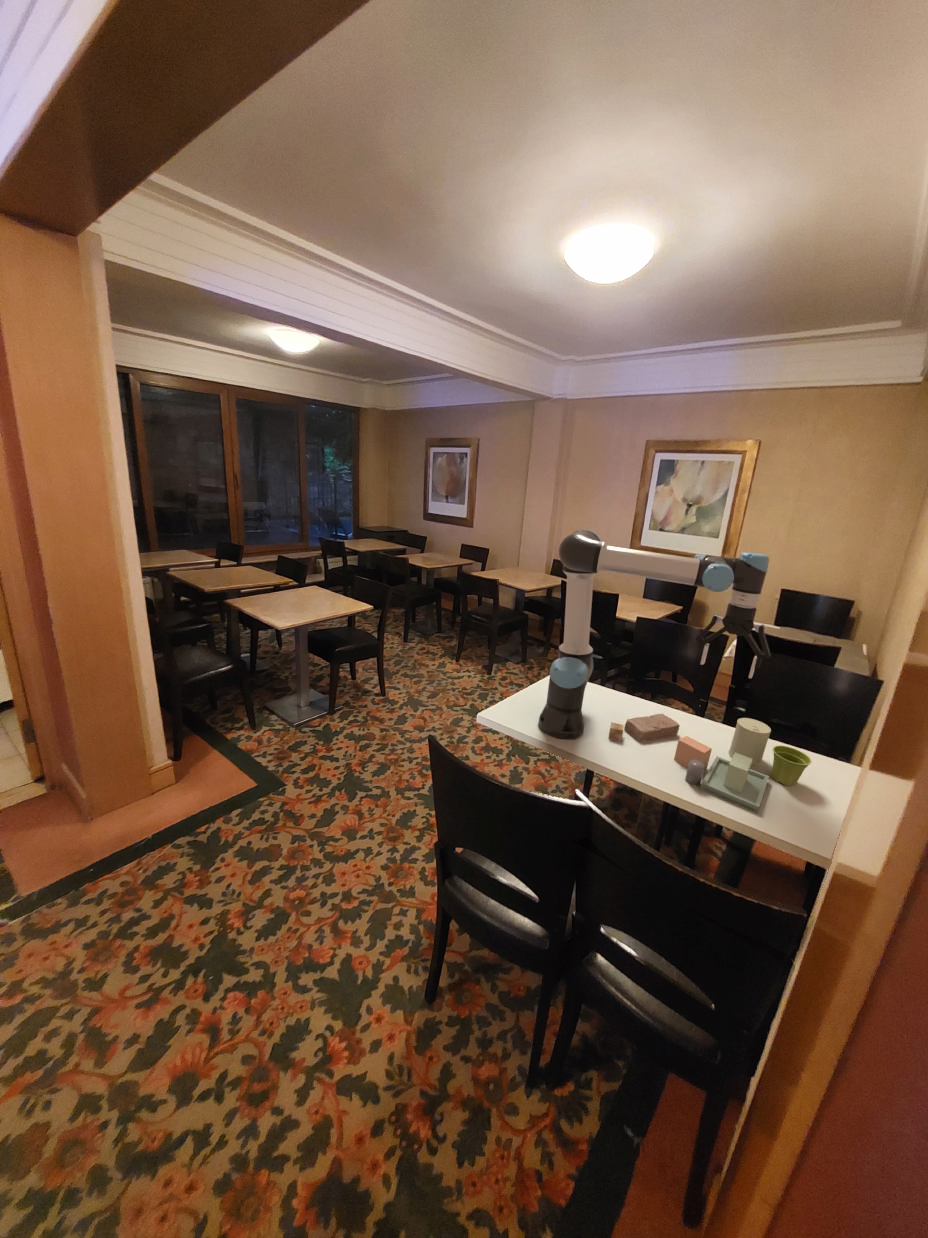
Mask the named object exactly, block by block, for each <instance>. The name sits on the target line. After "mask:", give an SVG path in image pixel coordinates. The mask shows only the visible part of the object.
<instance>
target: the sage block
mask: <svg viewBox="0 0 928 1238" xmlns="http://www.w3.org/2000/svg"><path fill="white" fill-rule="evenodd" d="M730 761H731V762H730V764H729V767H728V770H727V774H726V777H725V781H724V785H723V786H726V787H728V788H731V789H733V790H735V791H738V792H740V793H741V792H742V790H743V787H744V785H745V782H746V780H747V776H748V773H749V769H751V767H752V766H751V763H752V759H751V758H749V757H746V756H743V755H741V754H738V753H734V755H733V757H731V760H730Z"/></svg>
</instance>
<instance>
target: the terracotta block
mask: <svg viewBox="0 0 928 1238" xmlns="http://www.w3.org/2000/svg"><path fill="white" fill-rule="evenodd" d="M712 750H713V748H712V747H710V746H707V745H706V744H703V743H702V742H700V741H698V740H696V739H695V738H694V739H693V738H691V737H690V736H688V735H685V736H684V737H682V738H680V739H678V741H677V745H676V749H675V753H674V758H673V760H675V761H676V762H678V763H680V764H681V765H683V766H685V767H686V768H688V765H689V761H690V760H698V761H700V762H702V763H703V764H704V765H705V768H704V771H705V770H707V768H708V765H709V762H710V757H711V754H712Z"/></svg>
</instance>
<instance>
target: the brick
mask: <svg viewBox="0 0 928 1238" xmlns="http://www.w3.org/2000/svg"><path fill="white" fill-rule="evenodd" d="M679 730H680V724H679V722H677V721H676V720H674V719H673V718H671V717H669V716H667V715H665V714H664V713H657V714H656V713H655V714H652V715H649V716H647V715H646V716H641V717H640V716H638V717H632V718H628V719H626V721H625V724H624V728H623V731H625V732H626V733H627V734H629V735H630V736H631V737H632V738H633V739H634V740H635V741H636V742H637V741H638V742H646V741H648V740H649V741H651V740H652V741H653V740H656V739H657V740H659V739H662V738H664V739H665V738H669V737H673V736H676V735H677V734H678V733H679Z"/></svg>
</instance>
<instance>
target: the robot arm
mask: <svg viewBox="0 0 928 1238" xmlns="http://www.w3.org/2000/svg"><path fill="white" fill-rule="evenodd" d="M558 557H559V559H560V562H561V563H562V565H563V566H562V572H563V573H564V574H565V575H566V593H565V594H566V595H565V608H564V609H565V610H564V611H565V613H564V628H563V629H564V632H563V643H561V644H560V645H559V646H558V658H556V659H555V660H554V661H553V662H552V664H551V666H550V669H549V681H548V688H547V694H546V695H547V697H546V703H545V705H544V707H543V709H542V711H541V712H540V715H539V717H538V727H539V729H540V730H541V731H542V732H543V733H545V734H546V733H547V734H546V735H548V734H549V735H548V736H550V737H553V736H554V738H557V739H564V740H572V739H573V740H574V739H576V738H579V737H581V736H582V735H583V734H584V731H585V722H584V716H583V711H582V709H583V702H584V695H585V691H586V687H587V683H588V681H589V680H590V677H591V675H592V673H593V670H594V665H595V664H594V659H593V656H594V655H593V652H594V648H593V647H592V646H591V645H590V633H591V632H590V631H591V630H590V629H591V619H592V618H591V617H592V603H593V591H594V590H593V589H594V588H593V587H594V578H595V576H596V575H598V574H600V573H602V572H607V573H608V572H609V573H615V574H621V575H626V576H633V577H639V578H644V579H649V580H650V579H652V580H658V581H663V582H670V583H675V584H680V585H681V584H683V585H687V586H694V587H700V588H705V589H707V590H708V591H710V592H715V593H722V592H724V591H727V590H728V589H730V587H731V586H732V587H731V588H732V589H731V592H730V595H729V599H728V600H729V601H728V602H729V603H728V604H727V607H726V610H725V615H724V617H722V616H720V615H719V614H715V615H713V616H712V619H711V621H710V622H709V624H708V625H707V626H706V627H705V628H704V629H703V630H702V631H701V632H700V633H699V634H698V636H696V637H695V641H696V642H699V643H700V648H699V654H701V659H700V663H699V665H701V666H703V665H705V663H706V659H707V655H708V652H709V646H710V643H709V642H711V641H712V640H714V639H715V638H717V637H719V636H720V635H722V634H724V633H726V632H727V633H728V634H729V635H736V636H738V637H742V636H743V637H744V638H745V640H746V641H747V644H749V646H750V648H751V650H752V651H753V653H754V654H755V655H754V657H753V660H752V664H751V666H750V671H749V674H748V679H752V678H753V676H754V674H755V669H759V668H760V667H761V663H762V660H763V659H770V657H771V655H772V654H771V651H770V647H769V643H768V640H767V637H766V633H765V629H766V626H765V624H764V623H763V624H755V623H754V620H755V617H756V615H757V614H756V613H757V608H756V607H758V606H759V602H760V598H761V595H762V590H763V587H764V583H765V580H766V576H767V573H768V568H769V563H770V557H769V556H768V555H767V554H764V553H758V552H752V551H751V552H750V551H744V552H741V553H740V555H739V556H738V557H728V556H727V557H726V556H720V555H719V556H718V555H712V554H710V555H709V554H700V553H699V554H695V556H693V557H686V556H679V555H674V554H667V553H666V554H665V553H659V552H653V551H646V550H640V549H639V550H638V549H633V548H626V547H621V546H620V547H618V546H612V545H608V544H607V543H606V541H602V540H601V539H600V537H599V535H598V534H597V533H596V532H593V531H591V530H588V529H587V530H586V529H580V530H577V531H576V530H575V531H574V532H572V533H571V534H569V535H567V536H566V537H564V538H563V540H562V541H561V542H560V544H559V547H558ZM720 622H722V625H723V627H722V628H720V629H719V630H717V631H715V632H714V633H712V634H710V635H709V636H707V637H705V636H706V634H708V632H710V631H711V629H712V628H713V627H714V626H715V625H716V624H719V623H720ZM753 629H754V630H755V632H756V633H757V635H758V639H759V641H760V646H761V649H762V650H761V649H760V646H758V644H757V642H756V641H755V639H754V637H753V636H752V633H751V630H753ZM704 637H705V638H704Z"/></svg>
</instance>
